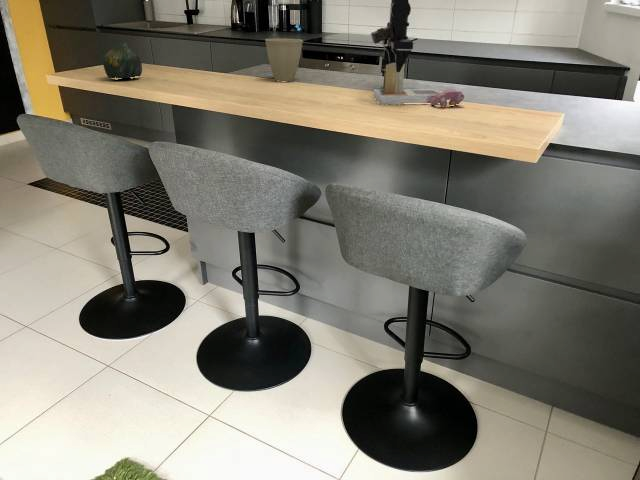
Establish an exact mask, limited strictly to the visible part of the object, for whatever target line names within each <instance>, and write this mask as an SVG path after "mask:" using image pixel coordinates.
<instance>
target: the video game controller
mask: <svg viewBox="0 0 640 480" xmlns="http://www.w3.org/2000/svg"><path fill="white" fill-rule="evenodd" d="M464 99H465V95H464V93H463V92H462V91H460V90H459V89H458V90H457V89H452V88H450V89H445V90H440V91H439V93H437V94H436V96H435V97H434V98H433V99H432V100H431V105H435V106H438V105H437V104H438V103H440V105H439V106H440V107H441V106H446V107H447V106H450V105H455V106H457V105H456V104H458V105H459V104H460V103H462V102H463V101H464ZM448 100H449V101H448ZM431 105H430V106H431Z"/></svg>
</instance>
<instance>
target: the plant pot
mask: <svg viewBox="0 0 640 480" xmlns="http://www.w3.org/2000/svg"><path fill="white" fill-rule="evenodd" d="M264 40H265V47H266V52H267V57H268V58H267V59H268V60H269V61H268V62H269V66H270V69H271V72H272V75H273V78H274V80H279V81H292V82H293V81H294V80H295V77H296V74H297V71H298V68H299V64H300V60H301V54H302V48H303V41H304V40H303V39H298V38H297V39H296V38H266V39H264Z"/></svg>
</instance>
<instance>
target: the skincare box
mask: <svg viewBox="0 0 640 480" xmlns="http://www.w3.org/2000/svg"><path fill="white" fill-rule="evenodd" d="M404 67H405V68H406V66H405V64H404V65H403V67H402V69H401V71H400V72H396V63H391V64H387V65H386V69H385V70H386V74H385V90H384V94H402V93H403V89H404V79H405V75H404V74H405V73H404Z"/></svg>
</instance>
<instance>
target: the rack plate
mask: <svg viewBox="0 0 640 480" xmlns="http://www.w3.org/2000/svg"><path fill="white" fill-rule="evenodd" d="M384 90H385V89H382V88H380V89H379V88H378V89H376V88H375V89H373V99H374V98H375V99H376V100H377V101H378V102H379V103H380V104H404V103H431V100H432V99H433V98H434V97H435V96H436V94H437V93H439V92H440V91H439V90H438V89H434V88H433V89H431V88H429V89H426V88H424V89H419V88H418V89H417V88H416V89H414V88H412V89H410V88H409V89H406V88H403V93H402V94H384ZM375 99H374V100H375ZM376 100H375V101H376ZM377 101H376V102H377ZM378 102H377V103H378ZM379 103H378V104H379ZM380 104H379V105H380Z"/></svg>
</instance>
